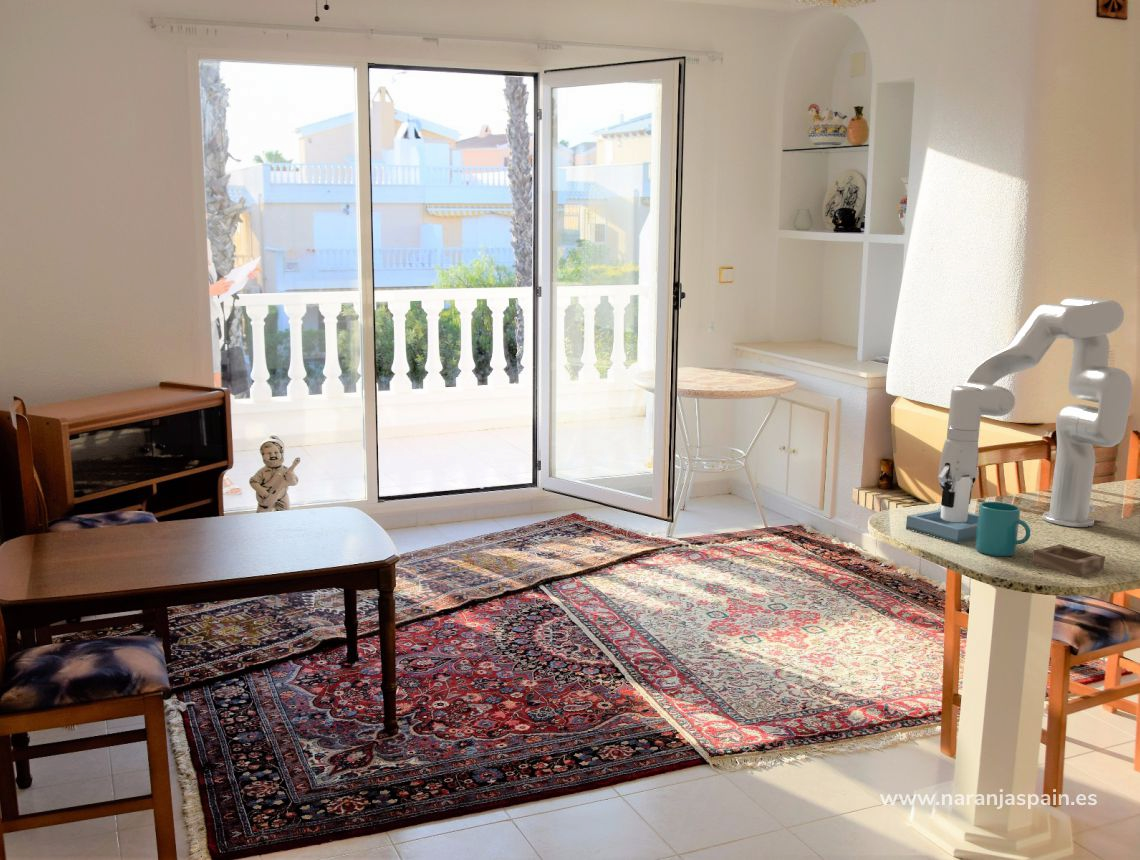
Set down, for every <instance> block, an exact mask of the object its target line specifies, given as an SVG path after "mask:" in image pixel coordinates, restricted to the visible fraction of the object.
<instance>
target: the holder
mask: <svg viewBox="0 0 1140 860" xmlns="http://www.w3.org/2000/svg"><path fill="white" fill-rule="evenodd" d="M1032 551H1033V553H1032V559H1031V563H1032V564H1033V565H1036V564H1037V566H1040V567H1043V568H1044V567H1045V568H1047V569H1050V570H1054V571H1058V572H1061V573H1063V574H1064V573H1065V574H1069V575H1072V576H1075V577H1080V576H1083V575H1087V574H1090V573H1094V572H1098V571H1101V569H1102V570H1104V569H1105V560H1106V556H1105V555H1101V554H1098V553H1094V552H1091V551H1090V552H1089V551H1086V550H1082V549H1078V548H1076V547H1071V546H1068V545H1065V544H1061V543H1060V544H1056V545H1051V546H1048V547H1044V548H1038V549H1034V550H1032Z"/></svg>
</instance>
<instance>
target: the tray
mask: <svg viewBox="0 0 1140 860" xmlns="http://www.w3.org/2000/svg"><path fill="white" fill-rule="evenodd" d="M905 523H906V524H905V530H908V529H910V530H909V531H911V530H914V531H913V532H915V531H917V532H916V533H918V532H921V533H920V534H922V533H925V534H929V535H932V536H935V537H934V538H936V537H938V538H937V539H939V538H942V539H941V540H943V539H945V540H944V541H946V540H948V541H947V542H950V541H951V542H950V543H953V542H954V544H960V543H959V542H962V543H965V541H966V542H970V541H969V540H971V541H976V533H977V524H978V514H977V513H973V512H969V511H968V517H967V521H966V522H965V523H951V522H946V521H944V520H942V518H941V509H940V510H939V509H935V510H930V511H924V512H919V513H914V514H909V515H907V516H906V522H905ZM925 534H924V535H925ZM929 535H928V536H929ZM932 536H931V537H932Z"/></svg>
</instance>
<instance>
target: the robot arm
mask: <svg viewBox="0 0 1140 860" xmlns="http://www.w3.org/2000/svg"><path fill="white" fill-rule="evenodd" d="M1124 318H1125V312H1124V308H1123V306H1122V305H1121V304H1120V303H1119V302H1118V301H1116V300H1113V299H1110V298H1097V297H1089V296H1088V297H1087V296H1069V297H1066V298H1064V299H1062V300H1061V301H1060V303H1054V302H1053V303H1052V302H1051V303H1050V302H1049V303H1042V304H1040V305H1038V306H1036V307H1035V309H1034V310H1033V311H1032V312H1031V313H1030V315H1029V317H1028V318H1027V319H1026V321H1025V322H1024V323H1023V324H1022V326H1021V327H1020V329H1019V330H1018V332H1017V333H1016V334H1015V336H1014V337H1013V339H1012V340H1011V341H1010V342H1009V343H1008V344H1007V346H1006V347H1004V348H1003V349H1001V350H999V351H997V352H995V353H994V354H992V355H991V356H989V357H988V358H986V359H985V360H984V361H982V362H980V363H979V364H978V365H977V366H976V367H975V368H974V369H973V371H972V372H971V373H970V375H969V376H968V377H967V379H966V380H965V382H964V383H963V385H956V386H954V387H952V389H951V393H950V400H949V401H950V402H949V410H948V411H949V412H948V421H947V430H946V431H947V433H946V440H945V441H944V443H943V446H942V451H941V456H940V460H939V467H938V468H939V469H938V476H937V481H938V483H939V485H940V487H941V488H940V489H941V491H942V494H941V503H940V504H941V505H942V506H946V507H950V508H952V507H953V506H954V496H955V492H953V490H954V487H955V483H956V481H959V480H960V479H961V478H962V477H966V476H970V479H971V490H970V499H969V505H970V504H971V498H972V490H973V488H974V483H976V479H977V478H978V476H979V475H980V473H979V472H980V471H979V470H978V465H979V438H980V428H981V417H982V416H991V417H1003V416H1007V415H1008V414H1010V413H1011V412H1012V411H1013V409H1014V408H1015V404H1016V398H1015V396H1014V394H1013V392H1012V391H1011V390H1010V389H1008V388H1006V387H1003V386H1000V385H999V386H998V385H994V384H996V383H997V382H998V381H1000V380H1001V379H1003V378H1005V377H1006V376H1009V375H1011V374H1016V373H1019V372H1023V371H1026V370H1029V369H1032V368H1035V367H1036V366H1038V365H1039V363H1040V362H1041V360H1043V358H1044V356H1045V355H1046V353H1047V352H1048V351H1049V350H1050V348H1051V347H1052V345H1053V344H1054V342H1055V341H1056V340H1057V339H1064V340H1065V339H1066V340H1072V341H1073V348H1072V349H1073V351H1072V359H1071V366H1070V370H1069V371H1070V372H1069V377H1068V392H1069V393H1070V395H1071V396H1072V397H1074V398H1075V399H1079V400H1083V401H1087V402H1093V403H1098V407H1095V406H1092V405H1087V404H1080V403H1071V404H1069V405H1066V406H1063V407H1062V408H1061V409H1060V410H1059V412H1058V413H1057V415H1056V418H1055V419H1056V420H1055V431H1056V432H1055V433H1056V453H1055V454H1056V455H1055V462H1054V470H1053V471H1054V472H1053V478H1052V479H1053V480H1052V486H1051V496H1050V504H1049V511H1045V512H1043V513H1042V519H1043V520H1044V521H1045V522H1048V523H1051V524H1056V525H1060V526H1065V527H1074V528H1087V527H1088V526H1089V527H1092V526H1094V524H1095V520H1094V519H1093V518H1091V517H1090V516H1089V513H1092V512H1095V511H1096V506H1095V505H1094V504H1091V496H1092V489H1093V483H1094V480H1093V479H1094V474H1095V467H1096V454H1095V449H1094V447H1093V445H1094V446H1099V447H1105V448H1112V447H1115V446H1117V445H1118V444H1119V443H1120V442H1121V441H1122V440H1123V438H1124V436H1125V434H1126V429H1127V424H1128V419H1129V414H1130V413H1129V412H1130V408H1131V401H1132V396H1133V395H1132V394H1133V383H1132V378H1131V377H1130V375H1129V374H1128V372H1126V371H1125V370H1123V369H1120V368H1118V367H1117V368H1116V367H1113V366H1112V367H1111V366H1109V358H1110V341H1109V337H1108V334H1111V333H1113V332H1115V331H1117V330H1118V328H1120V326H1121V325H1122V324H1123V322H1124ZM948 477H952V478H951V479H949V478H948ZM947 481H950V482H951V485H949V483H948V482H947Z"/></svg>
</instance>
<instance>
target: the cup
mask: <svg viewBox="0 0 1140 860" xmlns="http://www.w3.org/2000/svg"><path fill="white" fill-rule="evenodd" d="M978 506H979V507H978V514H977V515H978V524H977V533H976V539H975V543H974V544H975V546H974V548H975V550H976V551H977V552H978V553H981V554H983V553H984V555H987V556H991V555H992V556H991V557H998V558H999V557H1003V558H1005V557H1006V558H1007V557H1011V556H1015V554H1016V551H1017V545H1022V544H1025V543H1026V542H1027V541H1028V540H1029V538H1030V537H1031V528H1030V526H1029V525H1028V523H1027V522H1025V521H1024V520H1022V519H1020V515H1021V508H1020V507H1019V506H1017V505H1014V504H1011V503H1008V502H1007V503H1006V502H1000V501H983V502H980V503H979V505H978ZM1019 525H1021V526H1022V527H1023V528H1024V530H1025V535H1024V537H1023V538H1021V539H1018V534H1019V533H1018V532H1019Z"/></svg>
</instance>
